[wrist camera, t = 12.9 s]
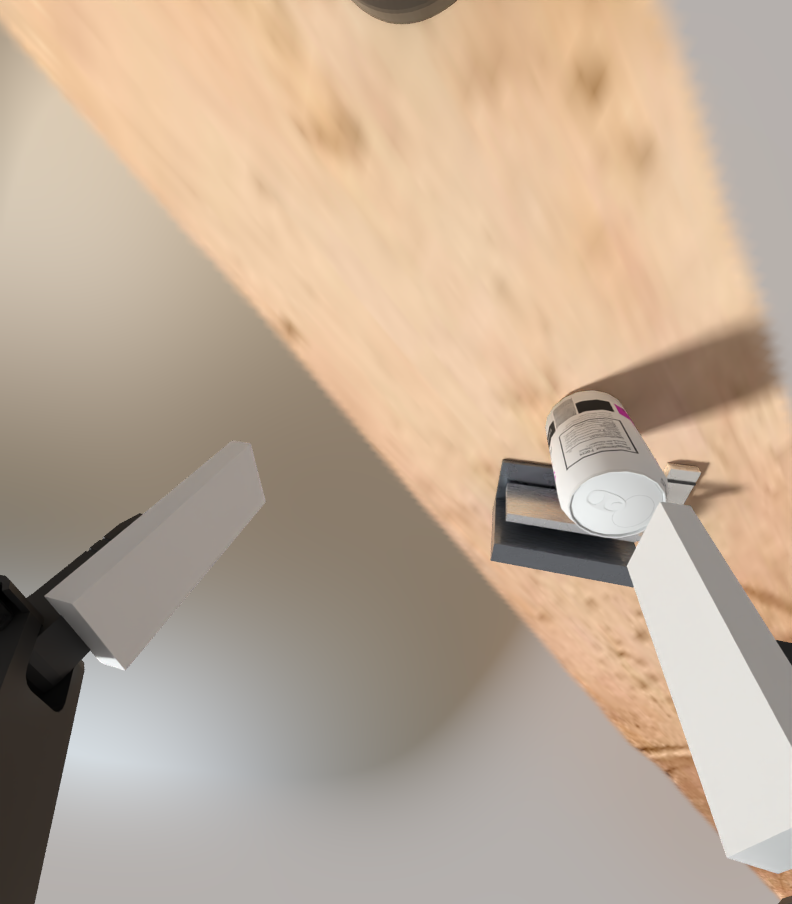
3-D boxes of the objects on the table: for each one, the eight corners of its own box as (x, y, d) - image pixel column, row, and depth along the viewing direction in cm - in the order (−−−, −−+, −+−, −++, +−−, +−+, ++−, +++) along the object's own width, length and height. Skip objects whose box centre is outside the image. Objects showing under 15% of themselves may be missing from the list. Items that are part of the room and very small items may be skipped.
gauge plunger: (507, 482, 48) (507, 513, 43) (670, 506, 44) (691, 543, 39) (505, 489, 48) (505, 520, 43) (666, 513, 44) (686, 550, 40)
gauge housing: (505, 443, 46) (505, 486, 38) (696, 466, 41) (737, 520, 34) (492, 511, 52) (490, 560, 45) (657, 538, 48) (684, 597, 40)
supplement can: (641, 403, 39) (702, 488, 27) (596, 461, 44) (630, 555, 32) (569, 376, 40) (597, 449, 27) (532, 437, 44) (542, 521, 32)
